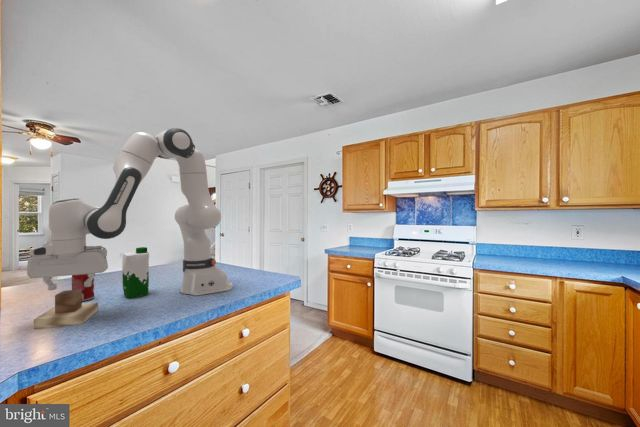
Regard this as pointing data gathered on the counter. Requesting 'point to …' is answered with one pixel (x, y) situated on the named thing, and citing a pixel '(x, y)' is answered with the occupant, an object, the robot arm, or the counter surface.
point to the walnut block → (68, 301)
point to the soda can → (79, 284)
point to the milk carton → (135, 273)
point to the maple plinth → (65, 316)
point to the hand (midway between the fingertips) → (70, 288)
